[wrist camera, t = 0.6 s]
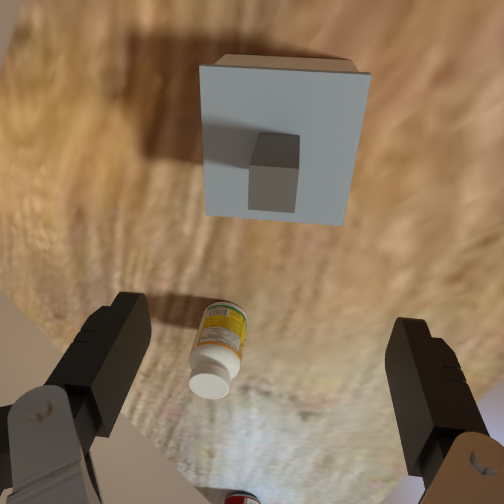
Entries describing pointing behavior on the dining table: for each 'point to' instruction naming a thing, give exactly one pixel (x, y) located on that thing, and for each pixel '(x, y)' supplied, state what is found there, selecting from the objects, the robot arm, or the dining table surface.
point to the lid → (280, 141)
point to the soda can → (241, 499)
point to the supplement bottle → (217, 350)
